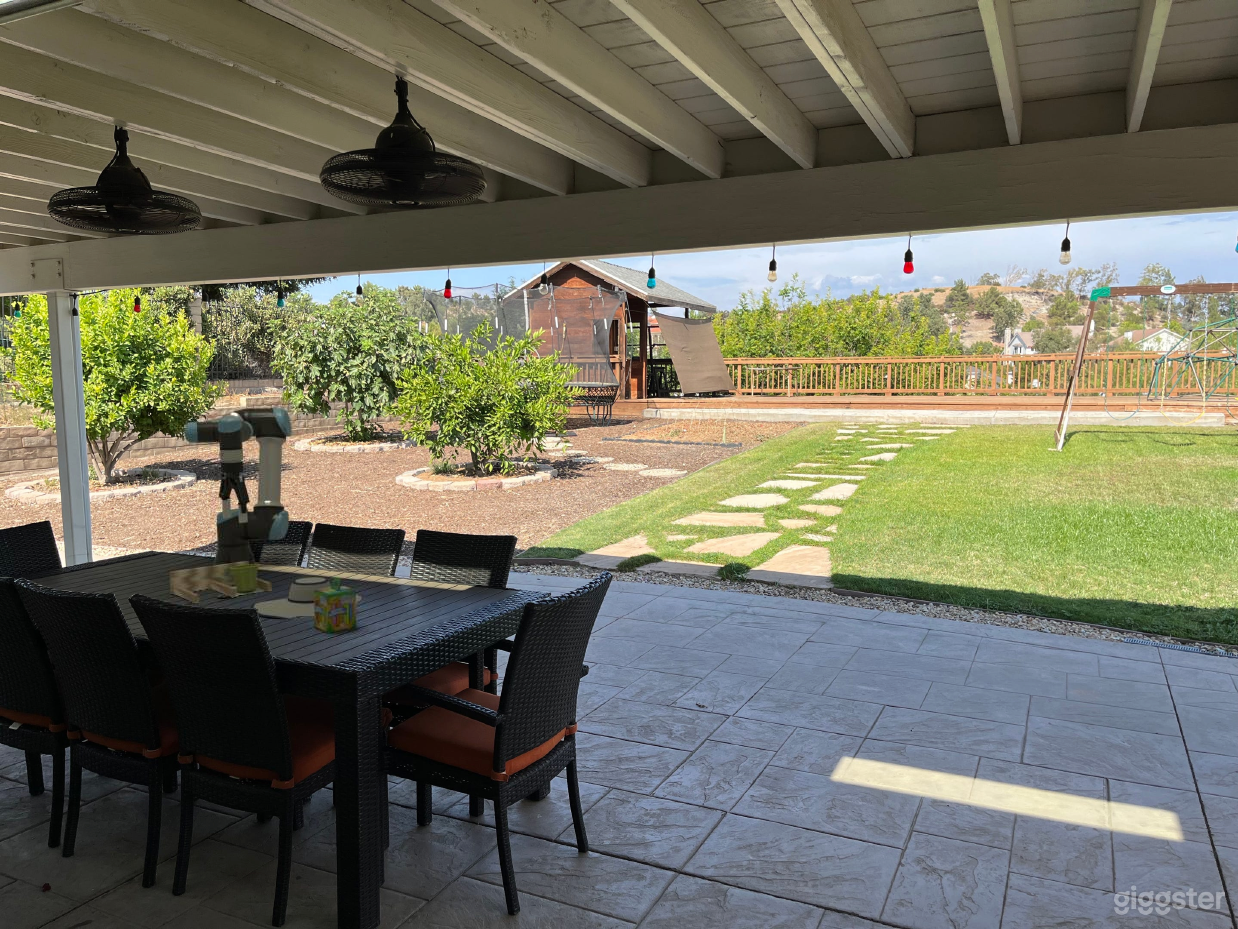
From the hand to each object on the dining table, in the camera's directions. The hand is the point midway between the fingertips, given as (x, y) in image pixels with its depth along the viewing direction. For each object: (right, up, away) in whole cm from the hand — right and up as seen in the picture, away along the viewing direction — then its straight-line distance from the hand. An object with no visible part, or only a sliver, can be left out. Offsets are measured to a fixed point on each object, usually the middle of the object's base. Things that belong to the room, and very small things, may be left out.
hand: (235, 520), depth 310 cm
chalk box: (+54, -29, -55) cm, 82 cm away
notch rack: (-1, -25, -9) cm, 26 cm away
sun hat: (+37, -27, -27) cm, 53 cm away
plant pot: (+7, -24, -7) cm, 27 cm away
